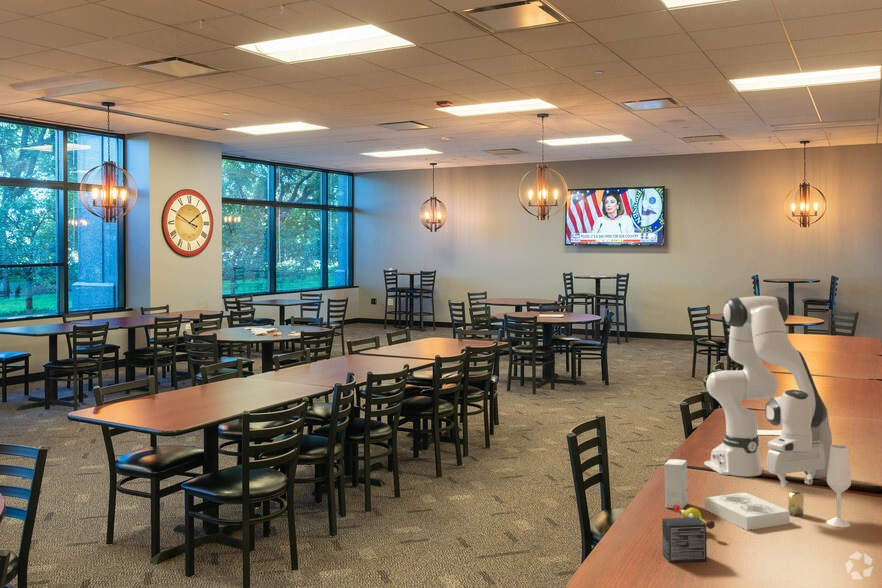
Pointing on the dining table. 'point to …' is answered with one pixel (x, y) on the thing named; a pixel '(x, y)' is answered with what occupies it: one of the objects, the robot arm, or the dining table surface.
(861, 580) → the dining table surface
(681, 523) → the small box
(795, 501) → the bushing
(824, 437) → the grey bottle
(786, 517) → the jig
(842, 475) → the champagne flute
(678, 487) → the skincare box
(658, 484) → the dining table surface
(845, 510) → the dining table surface
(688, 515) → the toy figure
